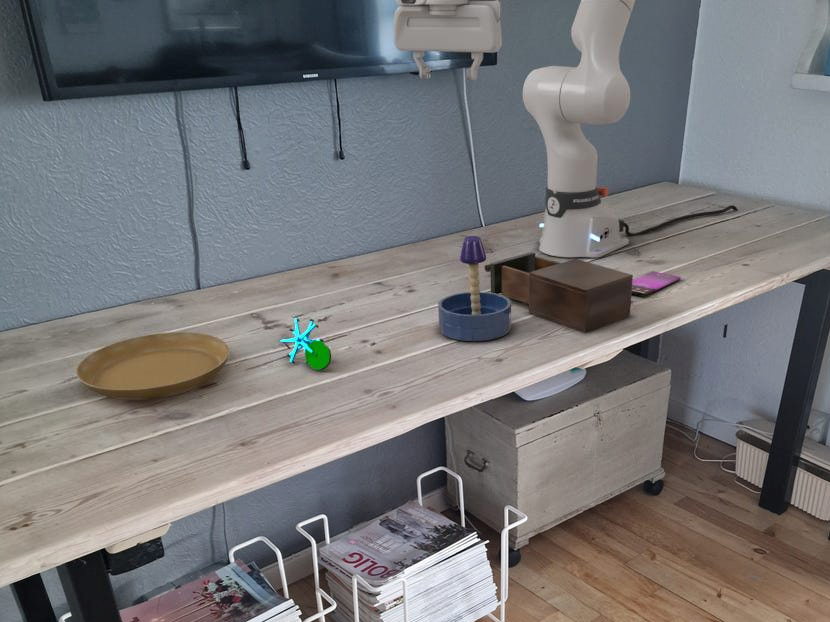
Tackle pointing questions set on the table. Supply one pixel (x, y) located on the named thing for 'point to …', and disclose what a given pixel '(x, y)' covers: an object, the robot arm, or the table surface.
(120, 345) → the plant saucer
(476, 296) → the toy lamp
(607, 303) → the cabinet
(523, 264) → the drawer
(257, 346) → the table surface
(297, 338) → the stick construction toy
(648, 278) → the smartphone
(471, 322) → the bowl
